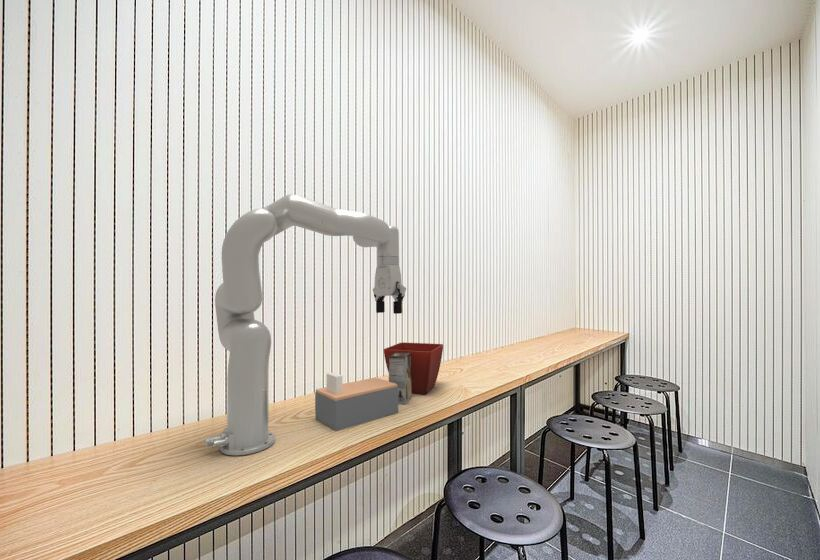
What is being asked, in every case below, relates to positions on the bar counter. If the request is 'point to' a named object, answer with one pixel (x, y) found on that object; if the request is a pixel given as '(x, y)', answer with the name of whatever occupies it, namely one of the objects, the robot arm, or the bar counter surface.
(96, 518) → the bar counter surface
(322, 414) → the carton
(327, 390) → the lid
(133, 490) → the bar counter surface
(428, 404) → the bar counter surface
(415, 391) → the plant pot
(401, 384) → the coffee box
